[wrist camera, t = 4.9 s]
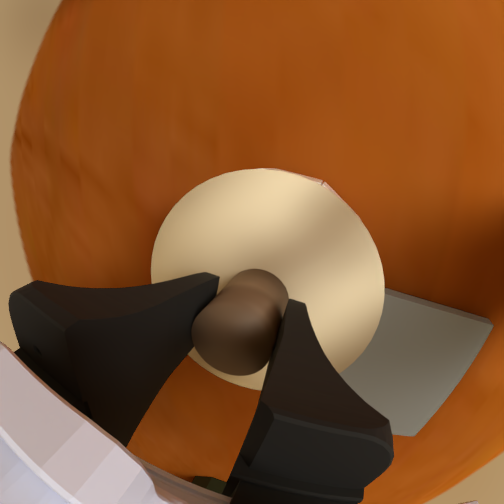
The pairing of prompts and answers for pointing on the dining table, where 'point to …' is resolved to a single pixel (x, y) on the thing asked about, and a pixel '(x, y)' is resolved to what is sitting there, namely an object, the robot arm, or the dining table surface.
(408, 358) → the mat
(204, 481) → the wine bottle
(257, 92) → the dining table surface
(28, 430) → the robot arm
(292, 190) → the lid
